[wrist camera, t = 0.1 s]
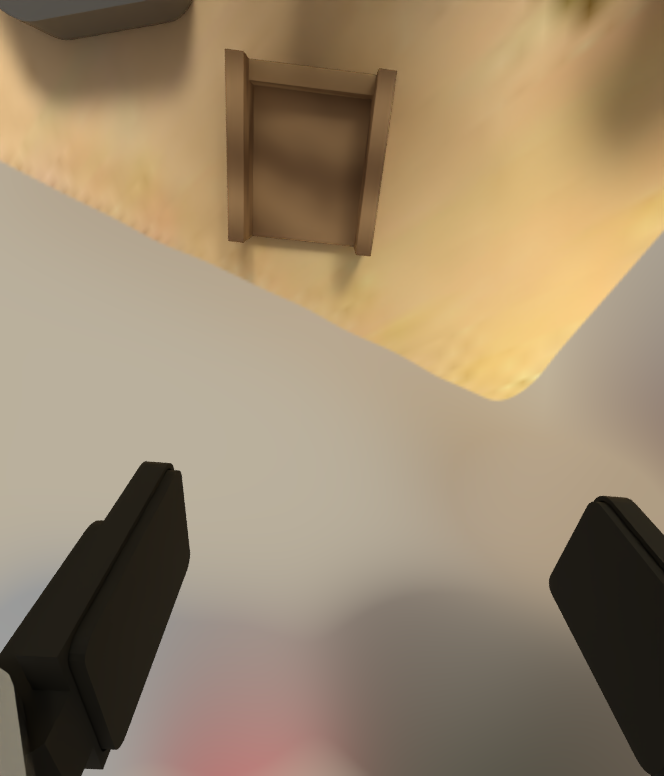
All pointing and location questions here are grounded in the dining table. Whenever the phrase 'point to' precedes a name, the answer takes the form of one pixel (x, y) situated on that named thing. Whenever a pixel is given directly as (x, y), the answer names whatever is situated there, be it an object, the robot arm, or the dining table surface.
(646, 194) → the dining table surface
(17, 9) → the streaming box
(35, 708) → the robot arm
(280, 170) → the open wooden drawer
